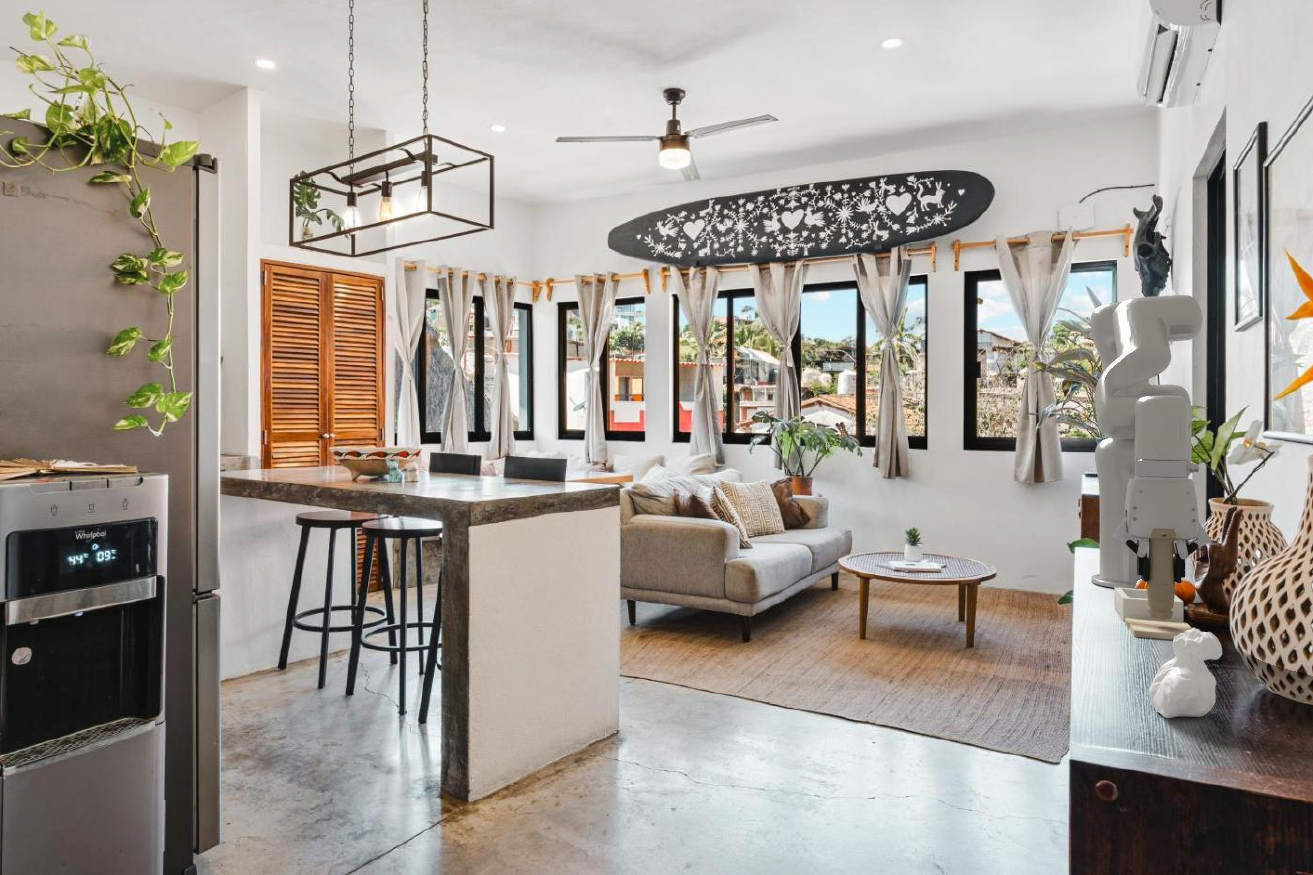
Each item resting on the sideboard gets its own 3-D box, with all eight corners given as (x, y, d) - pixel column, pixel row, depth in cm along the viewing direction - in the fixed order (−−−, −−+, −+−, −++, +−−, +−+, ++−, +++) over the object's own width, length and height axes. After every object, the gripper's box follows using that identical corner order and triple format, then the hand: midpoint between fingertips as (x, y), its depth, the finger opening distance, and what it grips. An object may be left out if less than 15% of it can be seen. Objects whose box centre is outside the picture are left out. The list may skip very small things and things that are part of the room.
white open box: (1114, 608, 151) (1114, 587, 151) (1170, 612, 148) (1170, 590, 148) (1123, 621, 142) (1123, 598, 142) (1183, 625, 139) (1183, 602, 139)
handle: (1186, 622, 131) (1187, 529, 131) (1141, 619, 133) (1141, 528, 133) (1179, 615, 136) (1180, 526, 135) (1135, 612, 138) (1135, 524, 138)
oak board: (1125, 623, 140) (1125, 618, 140) (1186, 628, 137) (1186, 622, 137) (1134, 636, 132) (1134, 630, 132) (1199, 641, 128) (1199, 635, 128)
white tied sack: (1184, 747, 93) (1259, 680, 89) (1123, 697, 96) (1194, 630, 92) (1185, 715, 103) (1253, 653, 99) (1130, 671, 106) (1194, 609, 102)
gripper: (1214, 469, 134) (1214, 580, 135) (1100, 468, 140) (1100, 573, 141) (1227, 472, 127) (1227, 589, 128) (1107, 471, 134) (1106, 582, 134)
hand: (1160, 579), depth 134 cm, fingers closed on handle, 3 cm apart
